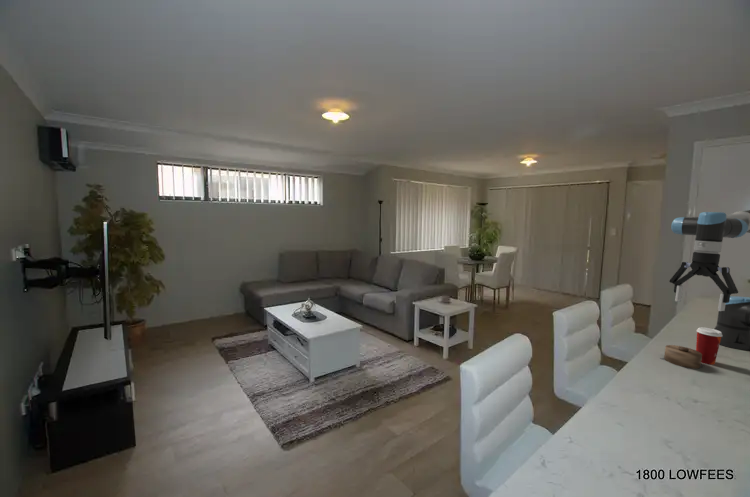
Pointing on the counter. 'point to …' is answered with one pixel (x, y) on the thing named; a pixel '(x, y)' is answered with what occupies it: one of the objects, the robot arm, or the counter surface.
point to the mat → (681, 366)
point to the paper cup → (708, 344)
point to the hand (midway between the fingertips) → (698, 305)
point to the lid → (683, 356)
